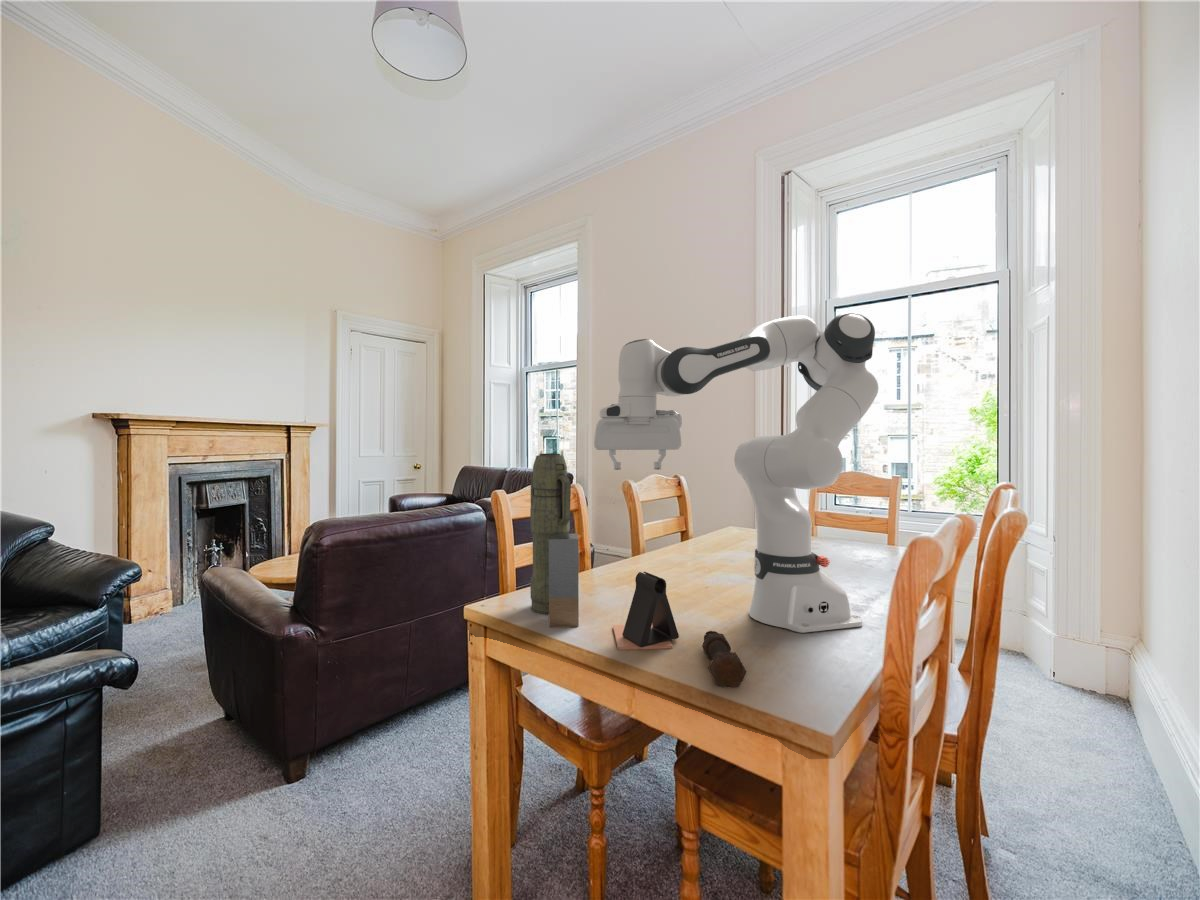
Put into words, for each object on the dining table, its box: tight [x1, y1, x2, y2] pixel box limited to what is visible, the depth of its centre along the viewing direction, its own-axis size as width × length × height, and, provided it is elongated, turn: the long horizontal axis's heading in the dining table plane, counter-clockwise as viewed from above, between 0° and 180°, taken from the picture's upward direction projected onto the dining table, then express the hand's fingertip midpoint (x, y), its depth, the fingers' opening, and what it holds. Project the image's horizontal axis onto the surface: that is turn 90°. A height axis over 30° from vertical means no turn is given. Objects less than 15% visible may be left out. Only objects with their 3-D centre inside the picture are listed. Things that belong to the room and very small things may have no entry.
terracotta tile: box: [612, 624, 673, 651], centre depth 101 cm, size 10×11×1 cm
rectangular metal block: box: [548, 533, 581, 628], centre depth 109 cm, size 6×6×18 cm
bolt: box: [701, 630, 748, 688], centre depth 88 cm, size 6×5×15 cm
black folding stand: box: [622, 571, 680, 647], centre depth 99 cm, size 9×6×12 cm, turn 119°
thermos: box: [529, 453, 572, 616], centre depth 117 cm, size 9×12×35 cm
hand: (637, 469), depth 122 cm, fingers open, 8 cm apart
